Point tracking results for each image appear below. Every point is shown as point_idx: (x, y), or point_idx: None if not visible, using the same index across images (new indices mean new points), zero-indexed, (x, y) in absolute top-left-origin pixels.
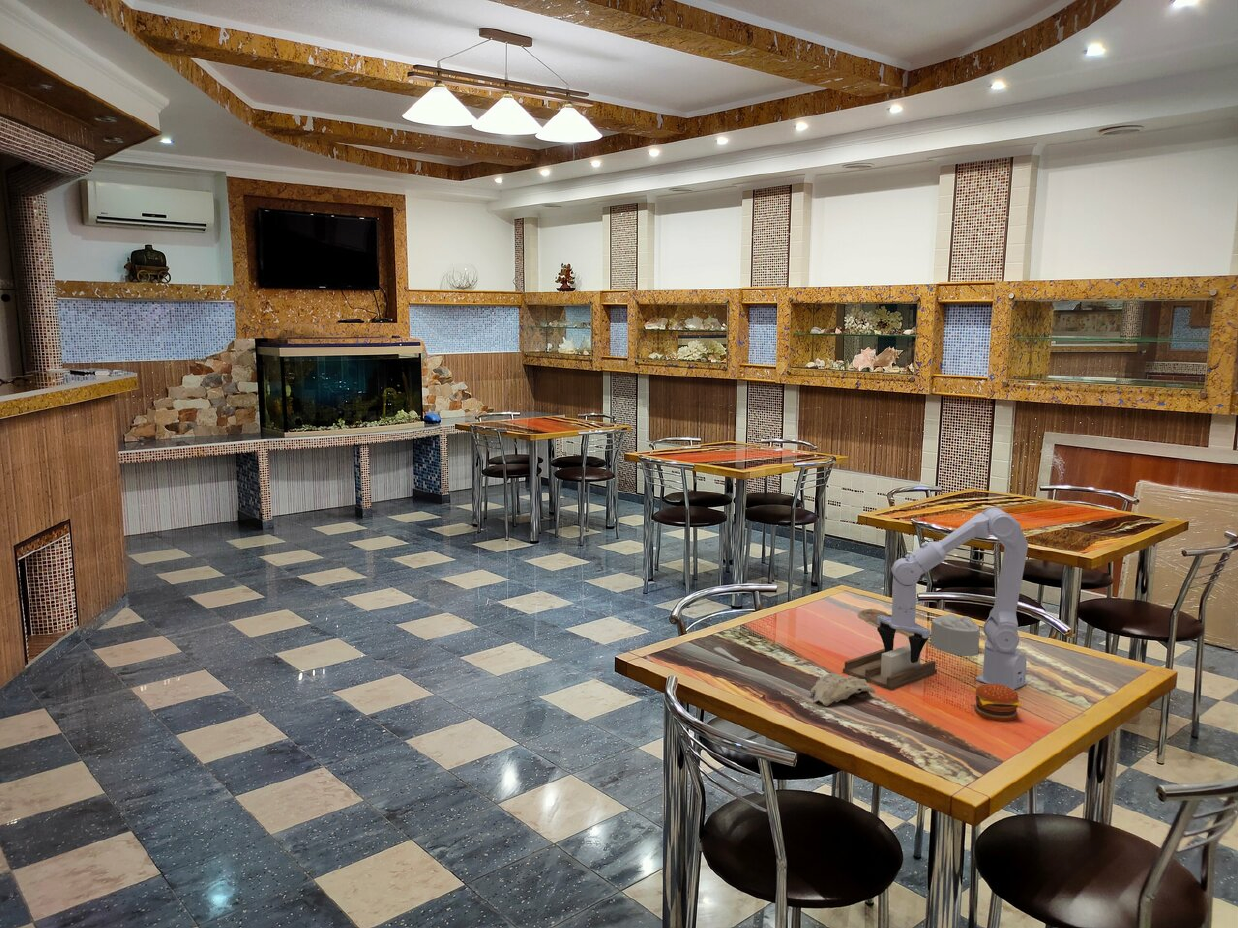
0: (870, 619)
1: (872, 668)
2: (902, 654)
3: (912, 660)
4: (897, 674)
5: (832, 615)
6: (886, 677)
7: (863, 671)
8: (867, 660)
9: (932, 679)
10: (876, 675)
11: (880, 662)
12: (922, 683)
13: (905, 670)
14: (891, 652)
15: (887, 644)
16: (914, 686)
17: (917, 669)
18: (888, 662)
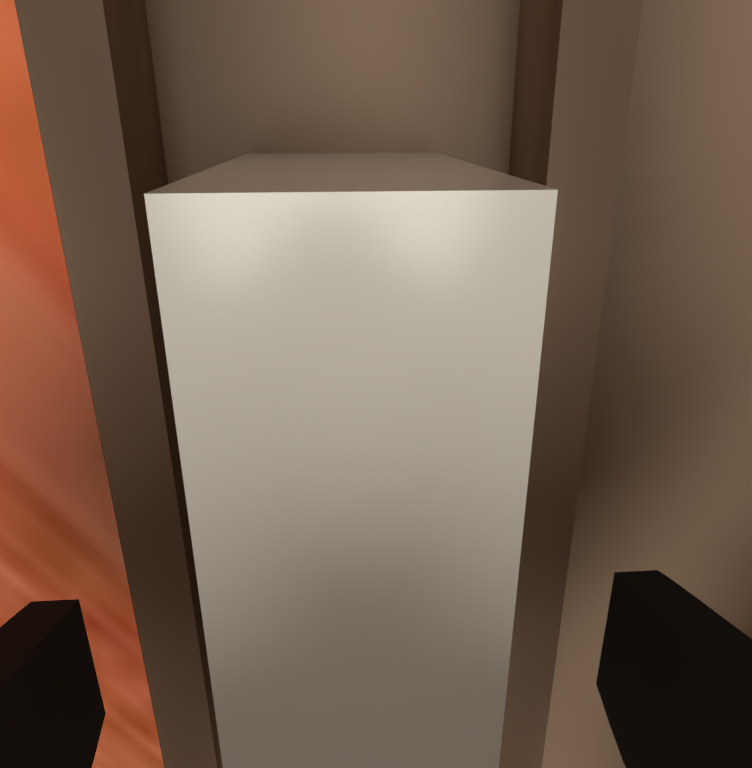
0: None
1: (581, 30)
2: (213, 640)
3: (5, 629)
4: (87, 175)
5: None
6: (327, 154)
7: (730, 97)
8: None
9: (98, 652)
10: (502, 133)
11: (707, 546)
12: (59, 495)
13: (165, 444)
14: (429, 511)
15: (742, 747)
16: (27, 347)
17: (144, 622)
18: (284, 175)
